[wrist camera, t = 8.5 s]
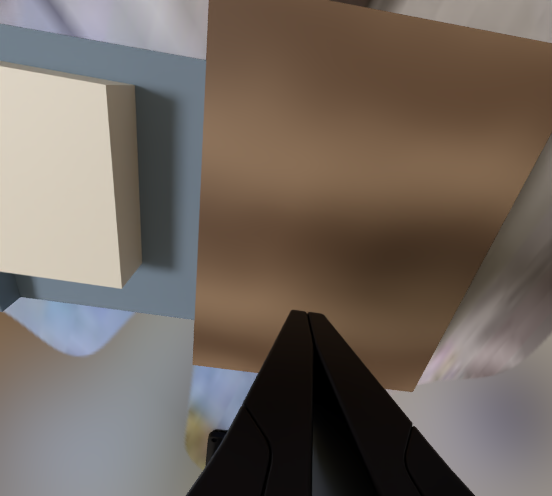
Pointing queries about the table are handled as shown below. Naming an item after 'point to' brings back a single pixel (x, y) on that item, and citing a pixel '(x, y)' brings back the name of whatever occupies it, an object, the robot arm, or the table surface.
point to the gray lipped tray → (151, 169)
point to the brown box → (355, 174)
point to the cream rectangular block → (68, 177)
